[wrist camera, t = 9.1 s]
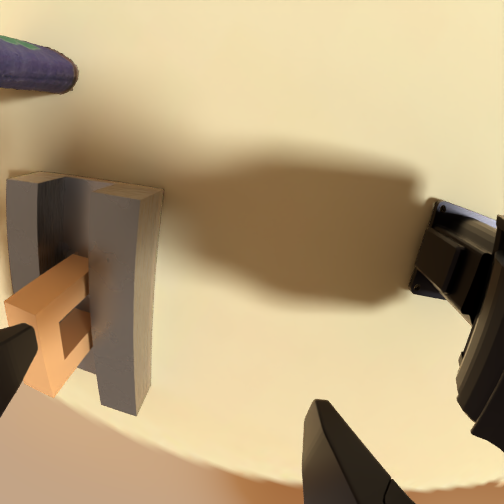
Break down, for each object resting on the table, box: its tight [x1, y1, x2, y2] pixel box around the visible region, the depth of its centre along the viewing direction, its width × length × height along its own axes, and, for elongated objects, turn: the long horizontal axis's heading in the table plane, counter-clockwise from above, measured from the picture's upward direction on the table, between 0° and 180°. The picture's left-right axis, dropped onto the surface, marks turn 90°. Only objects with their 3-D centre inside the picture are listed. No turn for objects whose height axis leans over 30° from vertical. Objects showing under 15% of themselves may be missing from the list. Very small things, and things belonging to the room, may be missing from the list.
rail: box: [6, 171, 164, 416], centre depth 19 cm, size 10×16×4 cm, turn 169°
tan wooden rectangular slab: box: [4, 254, 93, 398], centre depth 17 cm, size 2×6×8 cm, turn 168°
